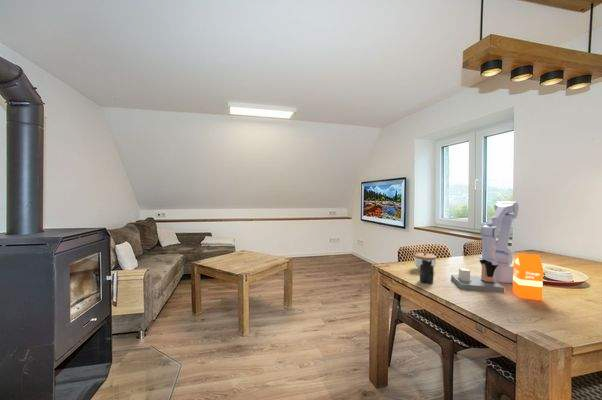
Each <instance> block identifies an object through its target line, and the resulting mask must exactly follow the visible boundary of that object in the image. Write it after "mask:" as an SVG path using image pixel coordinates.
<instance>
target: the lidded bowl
mask: <svg viewBox="0 0 602 400" xmlns="http://www.w3.org/2000/svg"><path fill="white" fill-rule="evenodd" d="M413 256H414V259H413V260H414V264H415V267H416V268H417V269H418V271H420V265H421V264H422V259H429V260H432V264H431V265H432V266H433V267H434V268H435V266H436V264H437V255H435V254H432V253H427V252H426V251H424V252H416V253H414V255H413Z"/></svg>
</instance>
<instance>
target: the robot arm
mask: <svg viewBox="0 0 602 400" xmlns="http://www.w3.org/2000/svg"><path fill="white" fill-rule="evenodd" d="M493 208H494V211H495V212H494V214H493V216H490V218H489V219H488V221H487V222H486V223H485V224H484V225H483V226H482V227H480V235H481V238H480V239H481V241H482V244H481V245H482V247H481V254H480V256H479V263H480V265H481V266H482V264H485V266H486V270H487V276H488V277H493V274H494V281H496V282H497V283H507V284H513V271H514V265H512V263H513V261H514V260H513V255H514V253H513V251H512V250H511V249H510V248H508V246H509V240H510V235H511V229H512V224H513V221H514V219H516V218H517V217H518V213H519V203H518V202H517V201H499V200H496V201H495V202H494V207H493ZM517 219H518V218H517ZM496 242H497V243H496Z"/></svg>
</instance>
